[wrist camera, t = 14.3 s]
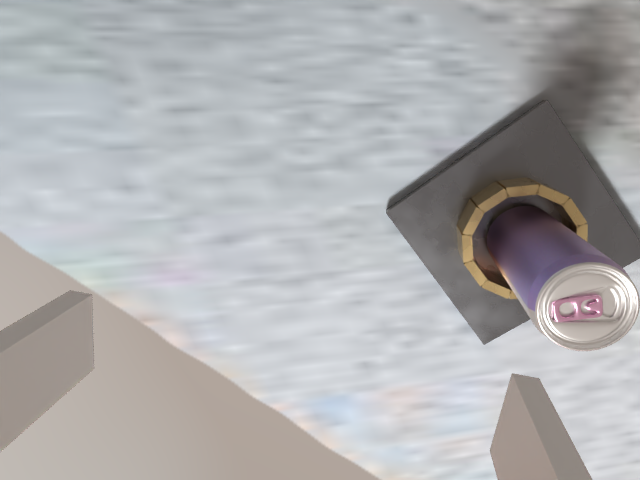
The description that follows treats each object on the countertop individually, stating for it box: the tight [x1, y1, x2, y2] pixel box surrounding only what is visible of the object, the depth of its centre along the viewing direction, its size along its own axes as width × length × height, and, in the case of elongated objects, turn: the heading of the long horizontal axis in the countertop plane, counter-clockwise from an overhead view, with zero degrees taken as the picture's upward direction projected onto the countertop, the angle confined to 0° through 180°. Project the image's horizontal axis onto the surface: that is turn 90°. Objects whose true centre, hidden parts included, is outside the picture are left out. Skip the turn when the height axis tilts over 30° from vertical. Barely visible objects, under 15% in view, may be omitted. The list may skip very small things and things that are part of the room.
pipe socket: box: [386, 100, 640, 344], centre depth 40 cm, size 16×16×5 cm
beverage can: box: [487, 206, 640, 351], centre depth 34 cm, size 6×6×15 cm
